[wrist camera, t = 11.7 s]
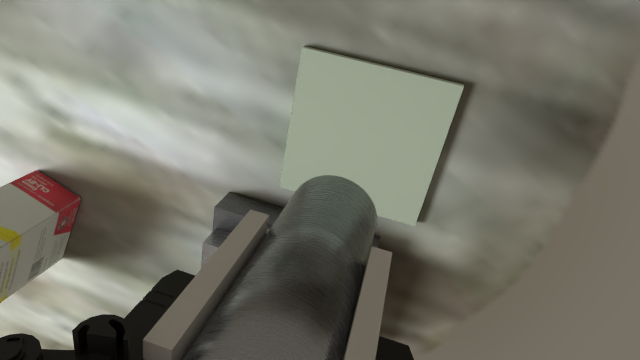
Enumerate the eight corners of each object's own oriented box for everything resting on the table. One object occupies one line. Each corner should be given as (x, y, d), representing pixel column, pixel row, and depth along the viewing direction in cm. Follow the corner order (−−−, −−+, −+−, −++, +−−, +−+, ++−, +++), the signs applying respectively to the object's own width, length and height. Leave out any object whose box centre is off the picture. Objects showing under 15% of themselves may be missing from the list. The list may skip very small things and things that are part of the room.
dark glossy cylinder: (284, 238, 20) (42, 646, 8) (297, 164, 18) (7, 543, 6) (365, 263, 19) (244, 745, 7) (387, 189, 18) (276, 666, 5)
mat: (282, 183, 31) (279, 187, 30) (304, 45, 26) (302, 47, 26) (415, 222, 30) (414, 226, 29) (463, 84, 25) (464, 86, 24)
